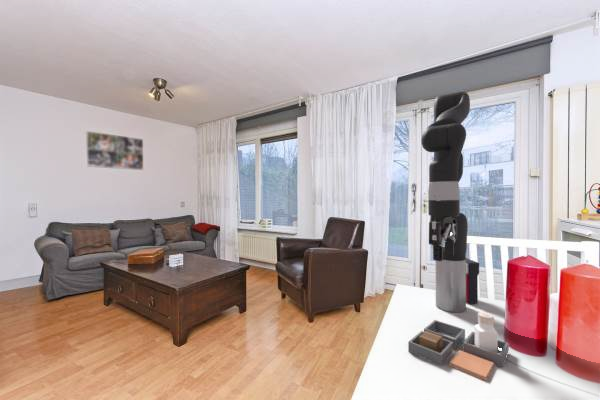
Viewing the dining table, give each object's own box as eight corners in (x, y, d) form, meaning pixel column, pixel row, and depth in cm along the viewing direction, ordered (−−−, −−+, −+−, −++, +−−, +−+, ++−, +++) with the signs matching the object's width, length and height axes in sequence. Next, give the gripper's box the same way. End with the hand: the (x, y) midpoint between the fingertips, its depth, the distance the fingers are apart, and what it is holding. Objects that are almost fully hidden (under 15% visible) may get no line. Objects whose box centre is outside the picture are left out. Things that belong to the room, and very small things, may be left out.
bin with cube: (421, 340, 72) (421, 330, 72) (453, 352, 66) (453, 342, 66) (408, 351, 67) (408, 341, 67) (441, 365, 61) (441, 355, 61)
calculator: (450, 293, 106) (450, 256, 106) (461, 293, 106) (461, 256, 106) (467, 304, 95) (467, 262, 95) (479, 304, 95) (479, 262, 95)
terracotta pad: (459, 353, 66) (459, 350, 66) (493, 366, 60) (493, 362, 60) (449, 365, 61) (449, 362, 61) (485, 380, 56) (485, 377, 56)
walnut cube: (425, 346, 69) (425, 330, 69) (442, 352, 66) (442, 336, 66) (419, 352, 66) (419, 336, 66) (436, 359, 64) (436, 342, 63)
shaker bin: (472, 340, 71) (472, 331, 71) (508, 353, 65) (508, 343, 65) (462, 352, 66) (462, 342, 66) (501, 367, 60) (501, 356, 60)
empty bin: (435, 328, 78) (434, 319, 78) (465, 338, 72) (465, 329, 72) (423, 338, 73) (423, 329, 73) (455, 349, 67) (455, 339, 67)
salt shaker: (498, 359, 63) (498, 319, 63) (479, 356, 64) (479, 317, 64) (491, 349, 67) (491, 312, 67) (473, 347, 68) (473, 310, 68)
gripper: (438, 198, 80) (439, 252, 80) (418, 199, 70) (418, 260, 70) (467, 198, 74) (467, 256, 75) (449, 198, 65) (449, 265, 65)
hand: (443, 257), depth 72 cm, fingers open, 8 cm apart
